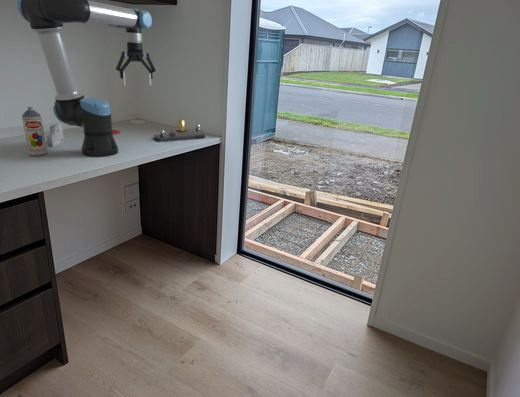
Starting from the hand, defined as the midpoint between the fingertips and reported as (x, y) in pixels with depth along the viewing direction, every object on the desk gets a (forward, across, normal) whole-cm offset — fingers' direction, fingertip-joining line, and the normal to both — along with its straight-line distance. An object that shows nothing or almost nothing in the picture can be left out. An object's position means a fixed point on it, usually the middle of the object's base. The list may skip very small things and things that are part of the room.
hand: (137, 85), depth 193 cm
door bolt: (+27, -18, +16) cm, 36 cm away
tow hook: (+27, +13, -10) cm, 32 cm away
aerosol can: (+27, +52, +26) cm, 64 cm away
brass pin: (+27, -18, +16) cm, 36 cm away
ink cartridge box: (+27, +43, +9) cm, 52 cm away
